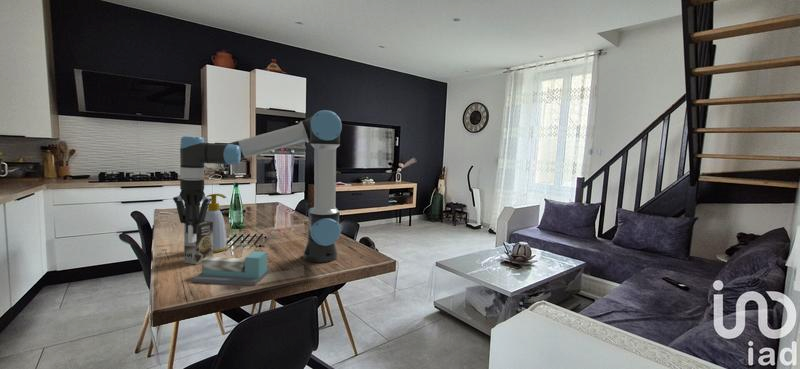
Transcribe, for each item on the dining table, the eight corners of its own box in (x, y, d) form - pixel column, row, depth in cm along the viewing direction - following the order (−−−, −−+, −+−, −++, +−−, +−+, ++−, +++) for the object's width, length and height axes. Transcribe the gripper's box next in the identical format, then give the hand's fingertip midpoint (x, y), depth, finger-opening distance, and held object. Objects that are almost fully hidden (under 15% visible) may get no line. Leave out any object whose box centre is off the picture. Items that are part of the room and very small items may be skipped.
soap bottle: (216, 254, 151) (217, 196, 149) (193, 252, 153) (193, 194, 151) (233, 247, 162) (233, 193, 160) (211, 245, 164) (211, 191, 162)
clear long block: (246, 271, 129) (246, 259, 129) (242, 275, 126) (242, 262, 125) (207, 269, 129) (207, 256, 129) (201, 272, 126) (201, 259, 126)
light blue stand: (270, 271, 135) (270, 249, 134) (254, 285, 121) (255, 261, 120) (214, 268, 135) (214, 246, 134) (193, 282, 121) (192, 257, 120)
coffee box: (197, 264, 138) (197, 225, 136) (183, 263, 139) (183, 224, 137) (213, 258, 147) (213, 221, 145) (200, 256, 148) (200, 220, 146)
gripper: (215, 179, 128) (215, 240, 130) (181, 177, 128) (181, 238, 130) (204, 181, 121) (203, 245, 123) (167, 178, 121) (167, 243, 123)
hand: (192, 241), depth 127 cm, fingers closed
